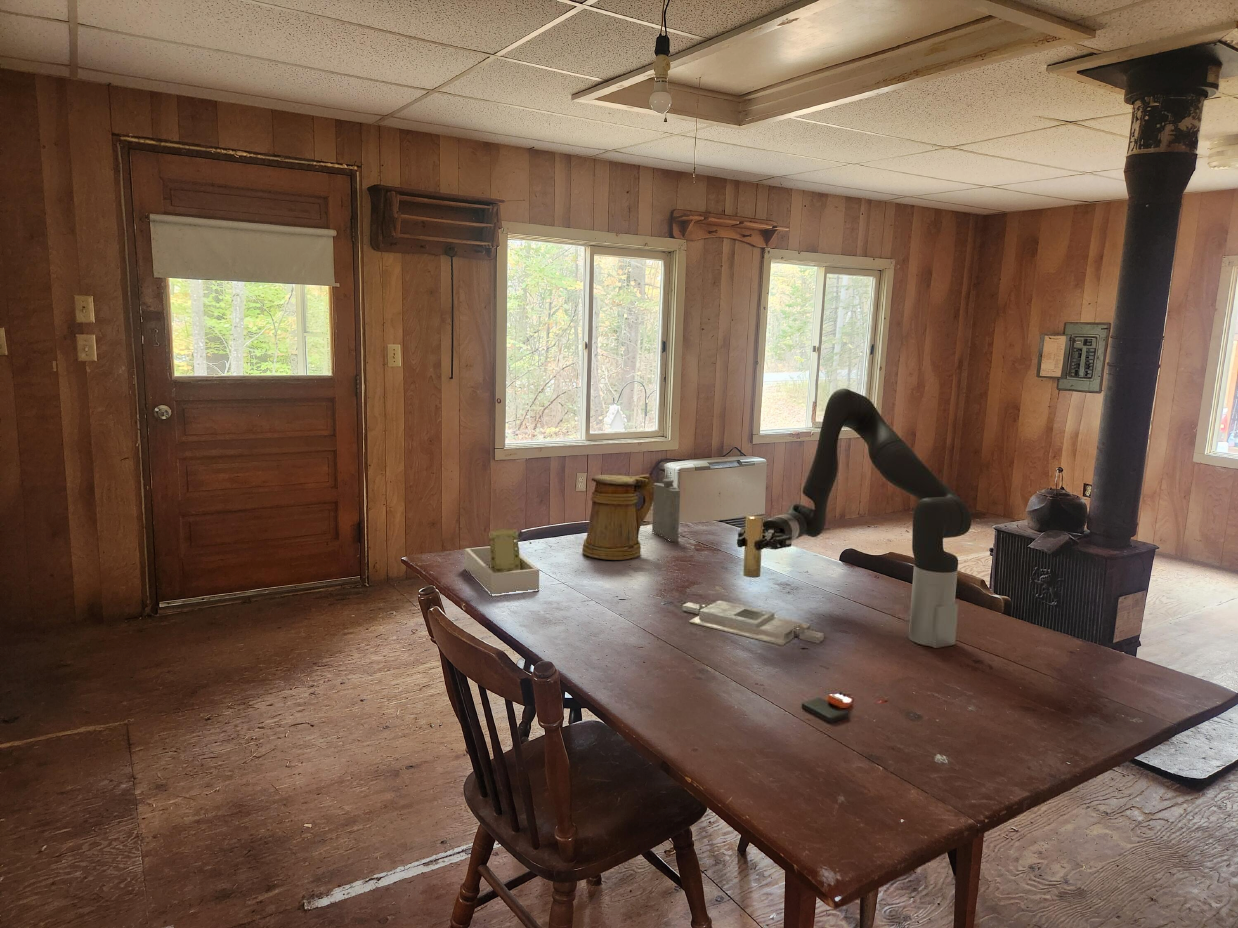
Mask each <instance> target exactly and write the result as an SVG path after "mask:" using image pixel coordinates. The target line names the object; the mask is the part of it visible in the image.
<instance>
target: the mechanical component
mask: <svg viewBox="0 0 1238 928" xmlns="http://www.w3.org/2000/svg"><path fill="white" fill-rule="evenodd" d="M518 535H519V533H518V529H515V528H514V529H507V528H500V529H498V530H490V531H489V532H488V539H489V547H490V554H491V567H490V569H491V570H492V571H493V572H494V573H498V572H508V571H519V570H521V569H520V555H521V554H520V547H519V536H518ZM515 540H516V541H515ZM492 542H493V543H492ZM516 557H517V558H516ZM516 566H517V567H516Z"/></svg>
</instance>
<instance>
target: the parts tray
mask: <svg viewBox="0 0 1238 928" xmlns="http://www.w3.org/2000/svg"><path fill="white" fill-rule="evenodd" d="M516 558H517V557H516ZM487 566H491V554H490V546H479V547H469V548H468V547H467V548H464V569H465V568H466V569H467V570H468V571H469V572H471V574H472V575H474V577H475V578H476V579H477V580H478V581H479V582H480V583H481V584H482V585H483V586H484V587H485V588H486V589H487V590H488V591H489V592H490V594H491V595H492V594H502V593H509V592H516V591H528V590H536V589H537V590H538V589H539V590H540V569H539V568H538V567H537V566H535V564H533V563H532V562H530V560H528V559H527V558H525V557H524V556H523V555H522V554H520V569H521V570H519V571H508V572H498V573H494V572H493V571H492V570H491V568H490V567H487ZM516 567H517V566H516ZM466 569H465V570H466ZM467 570H466V571H467ZM468 571H467V572H468ZM469 572H468V573H469Z"/></svg>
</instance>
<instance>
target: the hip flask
mask: <svg viewBox="0 0 1238 928" xmlns="http://www.w3.org/2000/svg"><path fill="white" fill-rule="evenodd" d="M662 481H663V482H661V483H660V482H654V483H653V486H654V499H653V504H652V522H651V523H652V525H651V527H652V528H651V529H652V531H651V532H654V533H653V534H655V533H656V534H655V535H657V534H660V535H662V536H664V537H666V538H667V539H669V540H670V541H678V542H679V534H680V533H679V529H680V527H679V526H680V499H681V490H680V489H679V488H677V487H675V486H674V482H675V481H674V479H672V478H671V479H668V478H667V479H662ZM660 535H659V536H660ZM662 536H661V537H662ZM664 537H663V538H664ZM666 538H665V539H666ZM667 539H666V540H667ZM669 540H668V541H669ZM670 541H669V542H670Z"/></svg>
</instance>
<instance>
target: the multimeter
mask: <svg viewBox="0 0 1238 928" xmlns="http://www.w3.org/2000/svg"><path fill="white" fill-rule="evenodd" d="M854 698H855V697H854V696H852V695H850V694H846V693H843V692H841V691H840V692H839V693H836V694H831V693H830V694H828V696H827V698H826V699H827V700H825V699H823V698H822V697H816V698H812V699H809V700H806V701H803V702H801V709H802V710H804V711H806V712H808V713H810V714H812V715H814V716H815V717H817V718H819V719H821V720H823V721H824V722H826V723H829V724H836V723H838V722H841V721H845V720H847V719H849V715H850V714H849V711H848V710H845V709H846V708H849V707H850V706H852V702H853V699H854ZM888 700H889V698H886V699H883V700H881V701H879V702H877V703H878V704H879V703H880V704H881V703H883V702H887V701H888Z"/></svg>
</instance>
